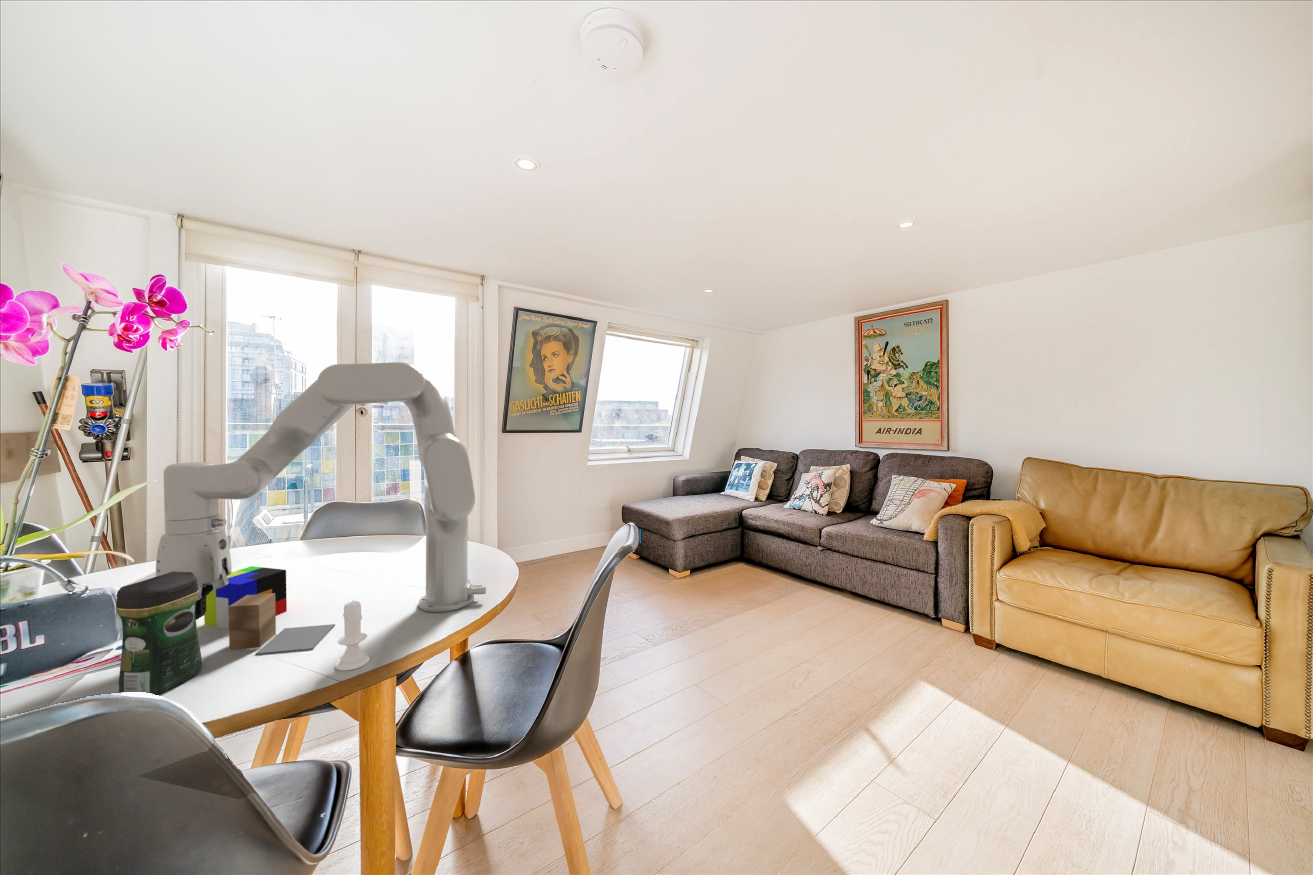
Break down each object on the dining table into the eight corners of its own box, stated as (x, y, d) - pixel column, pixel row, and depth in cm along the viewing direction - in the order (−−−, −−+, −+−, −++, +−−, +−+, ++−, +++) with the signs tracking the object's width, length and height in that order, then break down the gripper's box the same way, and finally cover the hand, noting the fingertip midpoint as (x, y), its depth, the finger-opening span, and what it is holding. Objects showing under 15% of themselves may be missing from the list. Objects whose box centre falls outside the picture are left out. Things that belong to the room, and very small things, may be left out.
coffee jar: (170, 667, 85) (168, 566, 85) (211, 669, 85) (209, 568, 84) (105, 698, 76) (101, 585, 75) (151, 701, 75) (148, 587, 74)
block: (275, 635, 98) (275, 593, 98) (259, 649, 92) (259, 604, 92) (247, 637, 97) (246, 595, 97) (229, 651, 91) (228, 606, 91)
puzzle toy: (241, 630, 100) (240, 584, 100) (204, 625, 102) (203, 580, 102) (286, 611, 110) (286, 569, 110) (252, 607, 112) (251, 566, 112)
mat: (335, 625, 103) (335, 624, 103) (312, 649, 93) (312, 648, 93) (284, 629, 101) (284, 628, 101) (255, 654, 90) (255, 653, 90)
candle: (346, 656, 90) (346, 595, 90) (375, 656, 91) (374, 595, 90) (328, 671, 85) (328, 606, 84) (359, 671, 85) (358, 606, 85)
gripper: (249, 520, 97) (251, 607, 97) (159, 523, 93) (162, 613, 94) (226, 528, 89) (228, 622, 90) (128, 532, 86) (131, 630, 86)
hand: (194, 618), depth 92 cm, fingers closed
